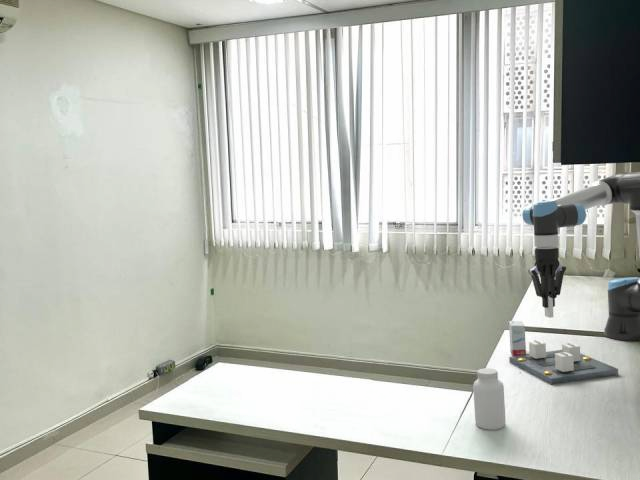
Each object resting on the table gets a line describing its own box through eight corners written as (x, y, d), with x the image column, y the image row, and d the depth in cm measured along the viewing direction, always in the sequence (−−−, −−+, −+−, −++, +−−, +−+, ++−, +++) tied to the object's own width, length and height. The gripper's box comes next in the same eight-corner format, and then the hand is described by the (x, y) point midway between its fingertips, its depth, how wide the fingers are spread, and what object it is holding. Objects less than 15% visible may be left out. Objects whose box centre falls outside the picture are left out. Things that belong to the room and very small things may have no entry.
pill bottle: (471, 420, 167) (468, 367, 166) (499, 417, 168) (496, 365, 166) (480, 432, 159) (478, 376, 158) (510, 429, 160) (508, 374, 158)
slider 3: (566, 366, 199) (565, 350, 198) (573, 370, 195) (573, 354, 194) (555, 368, 198) (554, 352, 198) (562, 371, 194) (562, 355, 194)
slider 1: (539, 354, 214) (539, 339, 214) (546, 357, 211) (545, 342, 210) (529, 355, 214) (528, 340, 213) (535, 358, 210) (535, 343, 209)
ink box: (526, 357, 220) (525, 325, 219) (512, 357, 221) (511, 325, 220) (523, 350, 229) (522, 320, 228) (510, 350, 230) (508, 320, 229)
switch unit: (569, 354, 220) (569, 347, 220) (618, 374, 195) (618, 367, 195) (509, 362, 216) (509, 355, 215) (551, 384, 190) (551, 377, 190)
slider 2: (573, 357, 208) (572, 342, 208) (580, 360, 204) (579, 344, 204) (562, 358, 207) (562, 343, 207) (569, 362, 204) (569, 346, 203)
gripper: (557, 244, 206) (559, 312, 208) (522, 248, 203) (525, 316, 205) (570, 246, 199) (573, 316, 201) (535, 250, 196) (537, 321, 198)
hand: (549, 316), depth 203 cm, fingers closed
